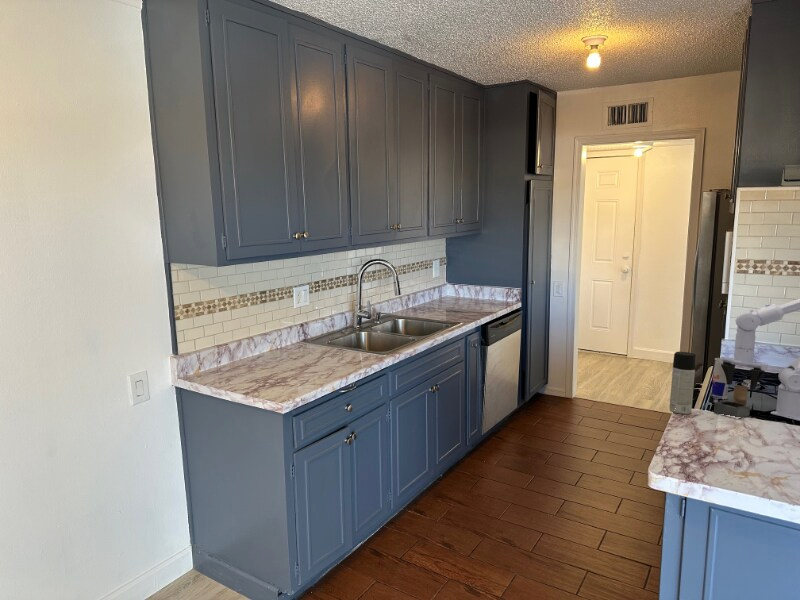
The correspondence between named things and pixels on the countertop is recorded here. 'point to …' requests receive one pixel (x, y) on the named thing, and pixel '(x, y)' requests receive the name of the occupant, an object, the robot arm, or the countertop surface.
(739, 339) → the robot arm
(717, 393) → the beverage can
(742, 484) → the countertop surface
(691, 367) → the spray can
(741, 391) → the peg
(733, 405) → the socket
